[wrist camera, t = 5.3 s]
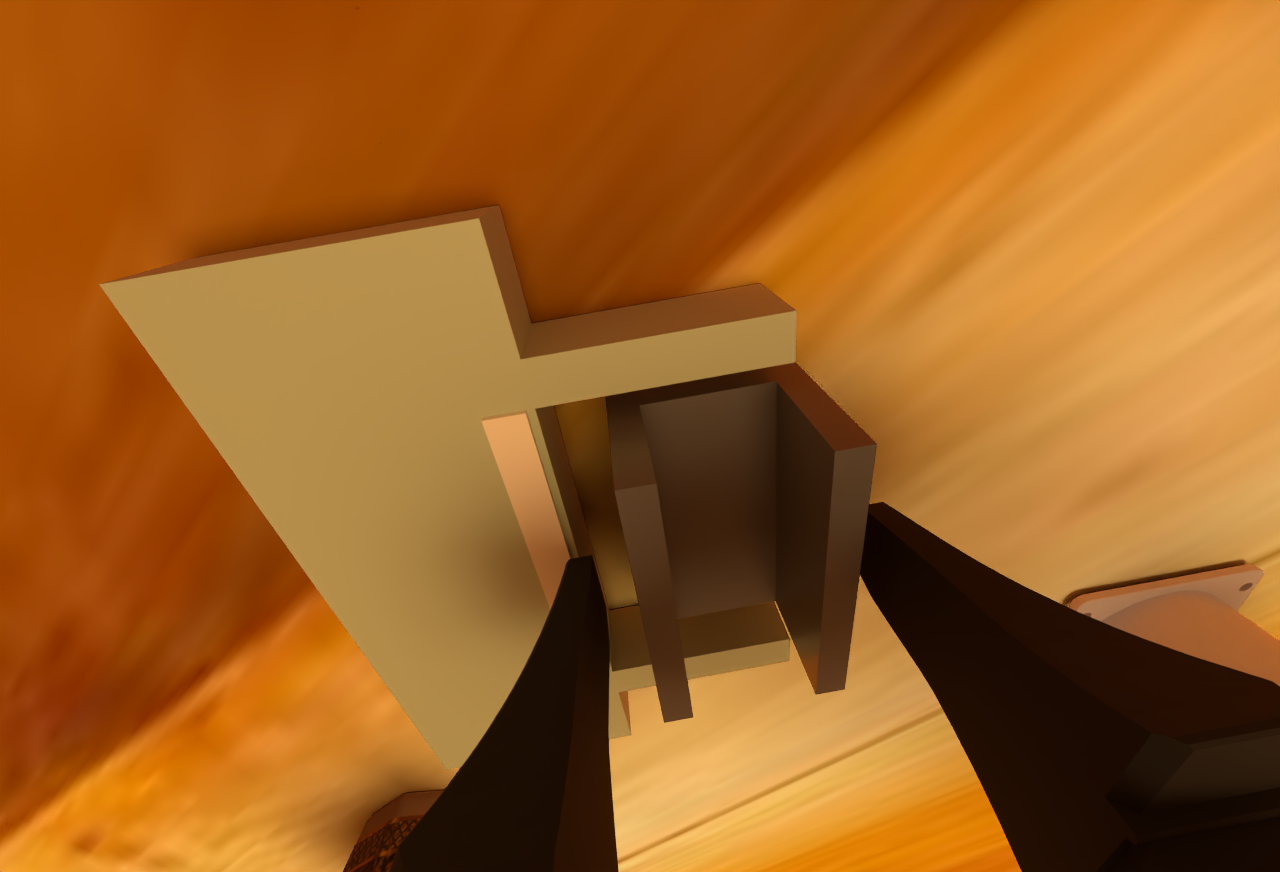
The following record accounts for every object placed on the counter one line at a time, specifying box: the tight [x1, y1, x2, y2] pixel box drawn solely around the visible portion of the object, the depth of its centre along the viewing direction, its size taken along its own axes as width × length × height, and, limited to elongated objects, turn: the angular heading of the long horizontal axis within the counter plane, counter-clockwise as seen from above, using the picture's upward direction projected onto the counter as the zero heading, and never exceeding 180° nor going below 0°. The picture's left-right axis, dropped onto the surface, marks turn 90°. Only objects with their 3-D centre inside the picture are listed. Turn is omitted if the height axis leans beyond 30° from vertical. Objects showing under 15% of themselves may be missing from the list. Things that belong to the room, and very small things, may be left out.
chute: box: [605, 362, 877, 723], centre depth 13 cm, size 8×5×5 cm, turn 8°
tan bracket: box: [99, 205, 797, 770], centre depth 15 cm, size 18×13×3 cm
